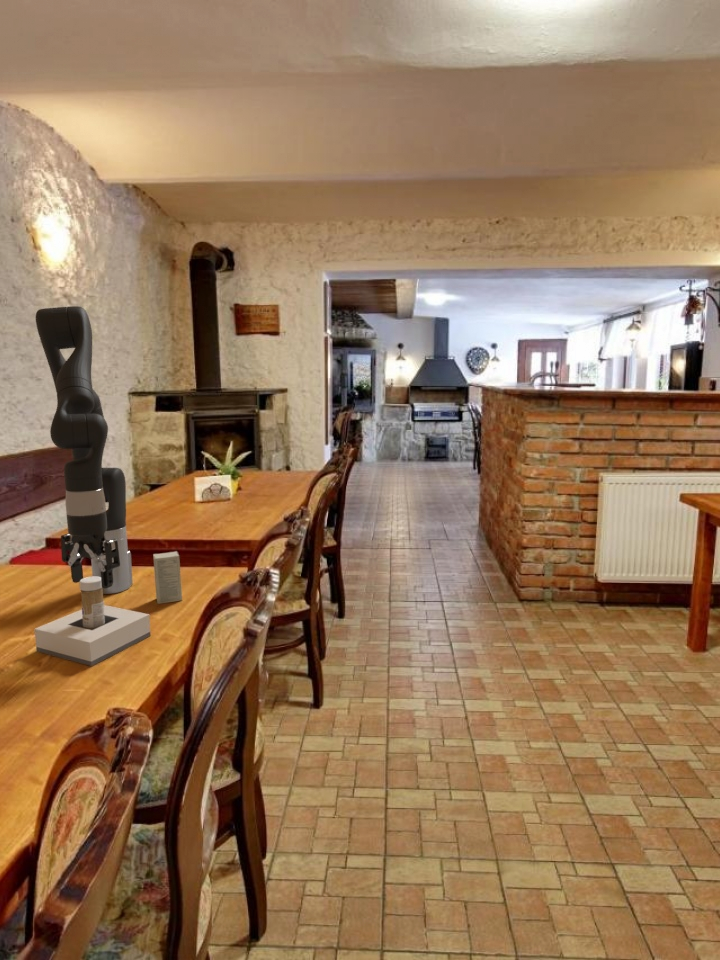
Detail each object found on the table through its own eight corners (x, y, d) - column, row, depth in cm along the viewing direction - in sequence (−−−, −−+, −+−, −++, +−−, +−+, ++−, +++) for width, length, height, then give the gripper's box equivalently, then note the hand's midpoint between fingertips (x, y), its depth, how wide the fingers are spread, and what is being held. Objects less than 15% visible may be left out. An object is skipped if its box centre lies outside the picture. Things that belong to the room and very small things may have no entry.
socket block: (98, 623, 141) (96, 603, 140) (150, 635, 134) (149, 614, 133) (36, 651, 127) (34, 628, 126) (91, 666, 120) (89, 642, 119)
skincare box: (180, 595, 159) (178, 550, 157) (182, 601, 155) (180, 555, 153) (155, 598, 157) (152, 553, 155) (156, 604, 153) (154, 558, 151)
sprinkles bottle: (79, 639, 130) (75, 579, 128) (100, 632, 133) (96, 574, 131) (89, 645, 127) (85, 583, 125) (110, 638, 131) (106, 578, 128)
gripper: (125, 509, 126) (131, 583, 129) (76, 503, 132) (82, 574, 135) (96, 517, 119) (103, 595, 122) (46, 510, 125) (53, 585, 128)
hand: (92, 584), depth 128 cm, fingers open, 8 cm apart
